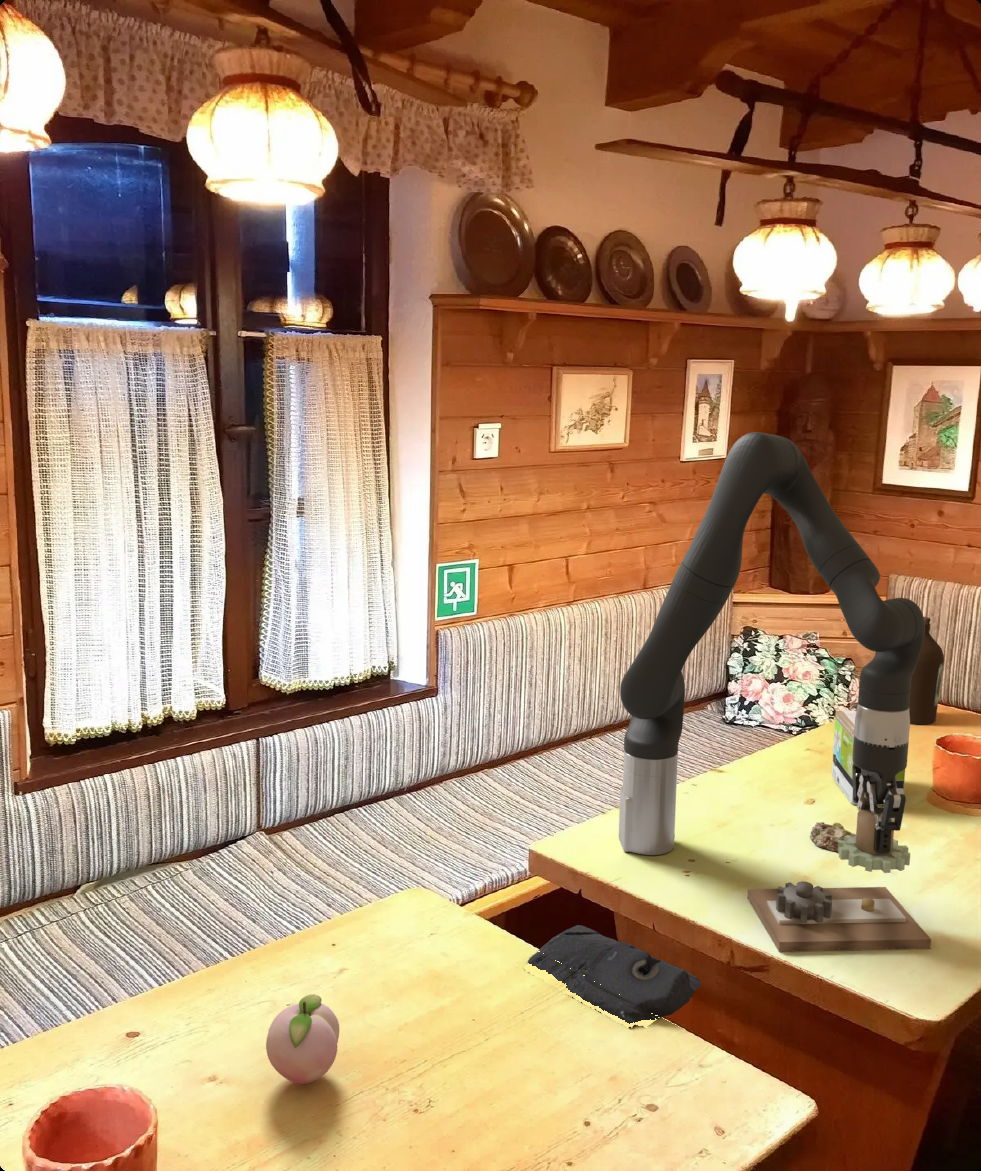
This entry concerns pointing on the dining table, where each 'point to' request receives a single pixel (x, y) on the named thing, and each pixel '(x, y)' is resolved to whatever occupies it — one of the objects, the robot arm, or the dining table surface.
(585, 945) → the dark slate chunk
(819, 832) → the mineral rock
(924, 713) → the olive oil
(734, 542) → the robot arm
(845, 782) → the tea box
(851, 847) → the planet gear
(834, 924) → the carrier board
